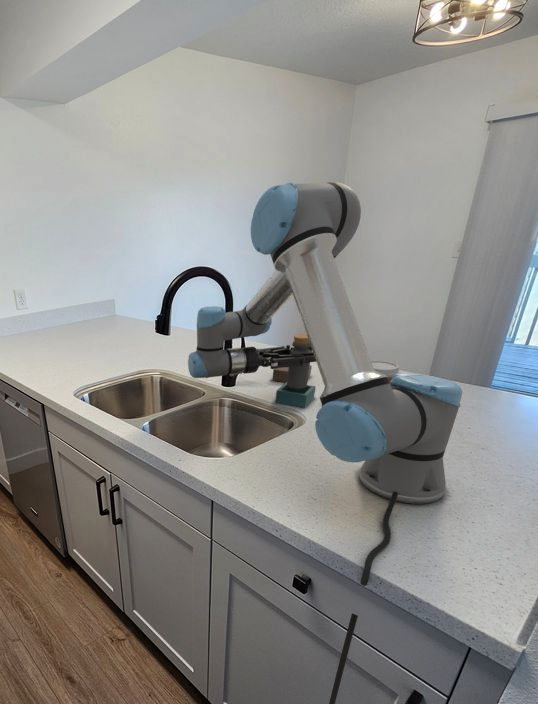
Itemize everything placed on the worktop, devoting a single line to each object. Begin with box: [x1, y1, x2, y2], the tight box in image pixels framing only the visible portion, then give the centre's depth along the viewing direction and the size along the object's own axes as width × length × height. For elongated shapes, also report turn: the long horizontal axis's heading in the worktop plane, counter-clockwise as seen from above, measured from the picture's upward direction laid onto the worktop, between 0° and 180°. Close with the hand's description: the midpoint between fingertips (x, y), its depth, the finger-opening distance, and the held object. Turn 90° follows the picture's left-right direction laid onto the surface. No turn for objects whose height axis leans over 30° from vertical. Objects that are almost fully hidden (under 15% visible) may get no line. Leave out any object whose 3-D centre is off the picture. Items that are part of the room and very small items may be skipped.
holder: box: [274, 382, 316, 409], centre depth 133 cm, size 9×9×4 cm
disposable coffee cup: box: [371, 360, 400, 383], centre depth 126 cm, size 10×10×12 cm
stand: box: [271, 365, 313, 384], centre depth 151 cm, size 10×10×4 cm
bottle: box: [287, 334, 311, 389], centre depth 129 cm, size 6×6×15 cm
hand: (316, 353), depth 128 cm, fingers closed on bottle, 6 cm apart
